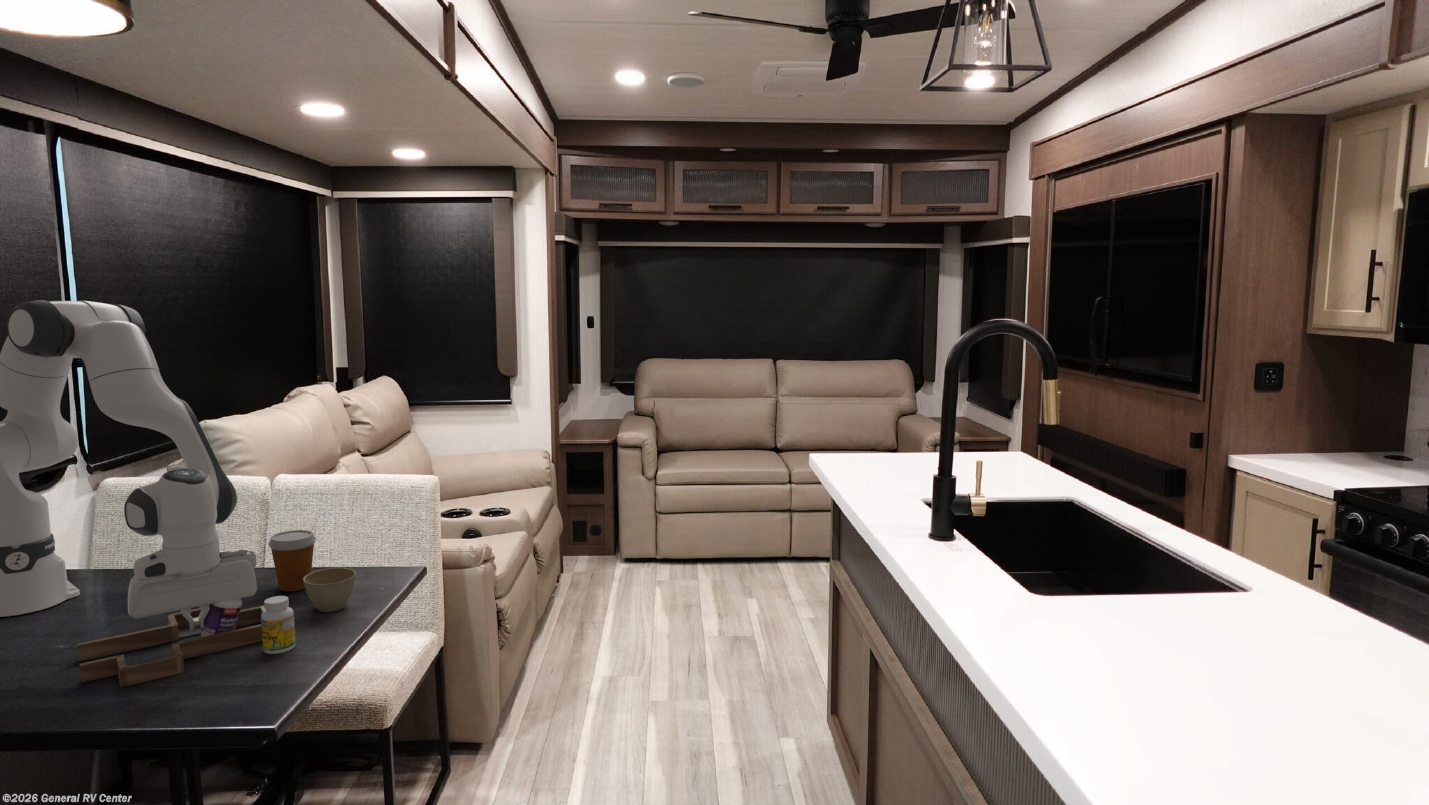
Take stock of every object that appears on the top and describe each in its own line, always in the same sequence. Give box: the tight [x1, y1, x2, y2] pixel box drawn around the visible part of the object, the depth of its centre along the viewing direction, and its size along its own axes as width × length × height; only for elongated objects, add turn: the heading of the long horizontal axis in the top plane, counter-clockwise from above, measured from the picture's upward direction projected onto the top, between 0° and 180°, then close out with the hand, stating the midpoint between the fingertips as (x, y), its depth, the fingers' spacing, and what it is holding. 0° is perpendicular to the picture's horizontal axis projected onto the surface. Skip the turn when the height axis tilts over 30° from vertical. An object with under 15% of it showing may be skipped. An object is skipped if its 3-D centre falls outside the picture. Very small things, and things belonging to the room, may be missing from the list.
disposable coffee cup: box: [267, 529, 317, 592], centre depth 180 cm, size 10×10×12 cm
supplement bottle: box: [260, 595, 296, 655], centre depth 149 cm, size 5×5×10 cm
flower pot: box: [303, 567, 357, 613], centre depth 169 cm, size 10×10×7 cm
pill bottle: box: [200, 598, 243, 637], centre depth 153 cm, size 5×5×10 cm
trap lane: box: [77, 605, 266, 688], centre depth 149 cm, size 23×30×3 cm
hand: (196, 628), depth 150 cm, fingers closed
